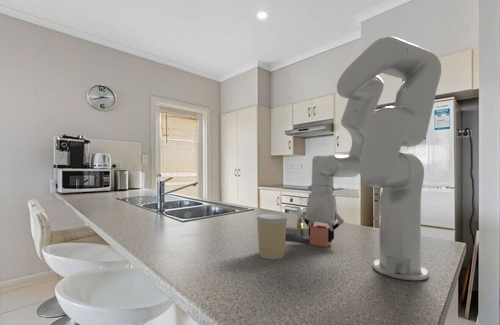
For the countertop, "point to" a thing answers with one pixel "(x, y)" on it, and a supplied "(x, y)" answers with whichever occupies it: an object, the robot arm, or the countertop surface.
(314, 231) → the pink hollow cube
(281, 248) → the coffee cup
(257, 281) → the countertop surface
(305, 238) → the shaft base
